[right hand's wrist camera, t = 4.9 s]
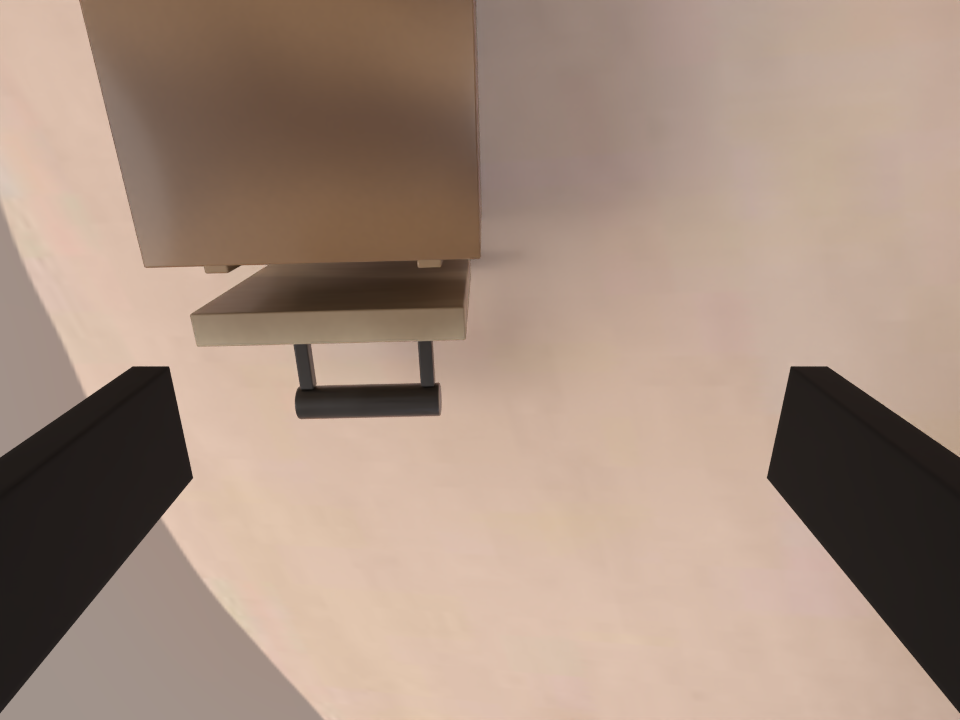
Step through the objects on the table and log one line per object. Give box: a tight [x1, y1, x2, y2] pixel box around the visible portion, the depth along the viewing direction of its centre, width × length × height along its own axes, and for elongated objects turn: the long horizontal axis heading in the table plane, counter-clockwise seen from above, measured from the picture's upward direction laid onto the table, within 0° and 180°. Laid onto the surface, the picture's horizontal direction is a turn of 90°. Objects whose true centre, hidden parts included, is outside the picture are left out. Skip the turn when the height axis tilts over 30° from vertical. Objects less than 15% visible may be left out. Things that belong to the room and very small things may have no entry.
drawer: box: [190, 259, 471, 419], centre depth 22 cm, size 24×9×9 cm, turn 2°
